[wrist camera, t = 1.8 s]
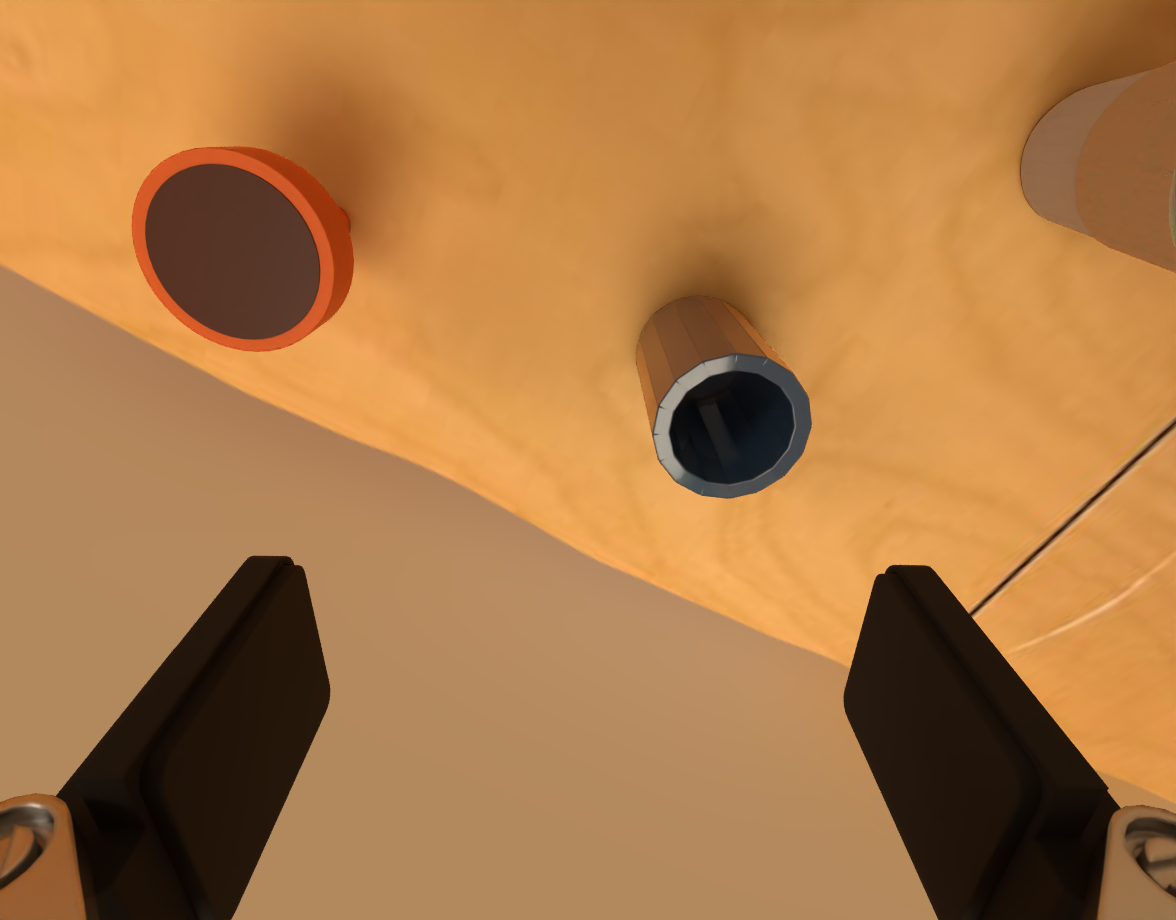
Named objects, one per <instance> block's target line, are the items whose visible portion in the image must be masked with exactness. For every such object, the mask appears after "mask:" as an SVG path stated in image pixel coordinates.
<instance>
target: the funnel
mask: <svg viewBox="0 0 1176 920" xmlns="http://www.w3.org/2000/svg"><path fill="white" fill-rule="evenodd" d="M349 233H350V222H349V219H348V217H347V215H346V213H345V212H344V211H343V210H342V209H341V208H340V207H338V206H337V205H336V204H335V202H334V201H333V199H332V198H331V197H330V195H329V194H328V193H327V191H326V190H325V189H324V188H323V187H322V186H321V185H320V184H319V182H318V181H317V180H316V179H315V178H314V177H312V176H311V175H310V174H309V173H308V172H306V171H305V170H304V169H303V168H301V167H299V166H298V165H296V164H295V163H293V162H292V161H290V160H288V159H286V158H284V157H282V156H280V155H278V154H275V153H272V152H269V151H266V150H262V149H258V148H253V147H240V146H239V147H207V148H195V149H191V150H186V151H182V152H180V153H178V154H175V155H173V156H171V157H169V158H167V159H166V160H164V161H163V162H161V163H160V164H159V165H158V166H157V167H155V168H154V169H153V170H152V171H151V173H150V174H149V175H148V176H147V178H146V179H145V180H144V182H143V184H142V186H141V188H140V190H139V191H138V194H137V197H136V200H135V203H134V208H133V214H132V236H133V244H134V248H135V252H136V256H137V259H138V262H139V265H140V267H141V270H142V272H143V274H144V276H145V278H146V280H147V282H148V284H149V285H150V287H151V288H152V290H153V291H154V293H155V295H156V296H157V297H158V298H159V300H160V301H161V302H162V303H163V305H164V306H165V307H166V308H167V309H168V310H169V311H170V312H171V313H172V314H173V315H174V316H175V317H176V318H177V319H178V320H180V321H181V322H182V323H183V324H184V325H186V326H187V327H188V328H190V329H191V330H193V331H194V332H196V333H197V334H199V335H201V336H203V337H204V338H206V339H208V340H210V341H213V342H215V343H217V344H220V345H223V346H226V347H229V348H233V349H238V350H243V351H255V352H260V351H272V350H277V349H281V348H284V347H287V346H290V345H292V344H294V343H296V342H298V341H300V340H302V339H303V338H304V337H306V336H307V335H309V334H310V333H311V332H313V331H314V330H316V329H317V328H318V327H320V326H321V325H323V324H324V323H325V322H327V321H328V320H329V319H330V318H331V317H332V316H333V315H334V314H335V313H336V312H337V311H338V310H339V308H340V307H341V305H342V304H343V302H344V300H345V298H346V296H347V294H348V292H349V289H350V286H351V282H352V276H353V266H354V258H353V248H352V243H351V238H350V234H349Z"/></svg>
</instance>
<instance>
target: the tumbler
mask: <svg viewBox="0 0 1176 920" xmlns="http://www.w3.org/2000/svg"><path fill="white" fill-rule="evenodd" d="M636 364H637V369H638V373H639V378H640V382H641V387H642V391H643V396H644V400H645V405H646V409H647V414H648V418H649V423H650V427H651V432H652V436H653V441H654V445H655V449H656V453H657V457H658V460H659V462H660V463H661V465H662V466H663V467H664V469H665V470H666V471H667V472H668V474H669V475H670V476H671V477H672V479H673V480H674V481H676V483H678V484H680V485H682V486H684V487H686V488H687V489H689V490H691V491H693V492H695V493H697V494H699V495H701V496H710V497H718V498H726V499H728V498H735V497H739V496H744V495H748V494H753V493H757V492H759V491H761V490H763V489H764V488H766V487H767V486H769V485H771V484H772V483H774V482H776V481H777V480H779V479H781V478H782V477H783V476H785V475H786V474H787V473H788V471H789V470H790V469H791V468H792V466H793V465H794V464H795V463H796V462H797V460H798V459H799V458H800V457H801V455H802V454H803V452H804V449H805V446H806V443H807V439H808V436H809V433H810V430H811V425H812V421H811V412H810V403H809V398H808V395H807V393H806V392H805V390H804V389H803V387H802V386H801V384H800V383H799V381H798V379H797V378H796V376H795V375H794V374H793V372H792V371H791V370H790V369H789V368H788V367H787V366H786V364H785V363H784V362H783V361H782V360H781V359H780V358H779V356H778V355H777V354H776V353H775V352H774V351H773V350H772V348H771V347H770V346H769V345H768V344H767V343H766V342H765V340H764V339H763V338H762V337H761V336H760V335H759V334H758V332H757V331H756V330H755V329H754V328H753V327H752V326H751V324H750V323H749V322H748V321H747V320H746V319H745V318H744V316H743V315H742V314H741V313H740V312H739V311H737V310H736V309H735V308H733V307H732V306H731V305H729V304H728V303H726V302H724V301H722V300H719V299H716V298H713V297H708V296H690V297H685V298H681V299H678V300H675V301H673V302H671V303H669V304H667V305H666V306H664V307H662V308H661V309H660V310H659V311H657V312H656V313H655V314H654V315H653V316H652V317H651V318H650V320H649V321H648V322H647V324H646V325H645V327H644V329H643V331H642V332H641V335H640V338H639V341H638V345H637V351H636Z"/></svg>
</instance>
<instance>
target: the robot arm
mask: <svg viewBox="0 0 1176 920" xmlns="http://www.w3.org/2000/svg"><path fill="white" fill-rule="evenodd" d="M329 700H330V684H329V679H328V675H327V670H326V666H325V661H324V656H323V652H322V647H321V643H320V638H319V634H318V629H317V625H316V620H315V616H314V611H313V607H312V602H311V598H310V593H309V588H308V584H307V579H306V575H305V571H304V569H303V567H302V566H299V565H294V563H293V561H292V559H291V558H290V557H287V556H251V557H249V558H248V559H247V560H246V561H245V562H244V563H243V565H242V566H241V567H240V568H239V569H238V571H237V572H236V573H235V574H234V576H233V577H232V578H231V579H230V581H229V582H228V583H227V584H226V586H225V587H224V588H223V589H222V591H221V592H220V593H219V594H218V596H217V597H216V598H215V599H214V601H213V602H212V603H211V604H210V605H209V607H208V608H207V609H206V611H205V612H204V613H203V614H202V615H201V617H200V618H199V619H198V620H197V622H196V623H195V624H194V625H193V627H192V628H191V629H190V630H189V632H188V633H187V634H186V636H185V637H184V638H183V639H182V640H181V642H180V643H179V644H178V645H177V647H176V648H175V649H174V650H173V651H172V652H171V654H170V655H169V656H168V657H167V658H166V660H165V661H164V662H163V663H162V665H161V666H160V667H159V668H158V670H157V671H156V672H155V673H154V675H153V676H152V677H151V678H150V680H149V681H148V682H147V683H146V685H145V686H144V687H143V688H142V689H141V691H140V692H139V693H138V694H137V696H136V697H135V698H134V699H133V701H132V702H131V703H130V704H129V706H128V707H127V708H126V709H125V711H124V712H123V713H122V714H121V716H120V717H119V718H118V719H117V721H116V722H115V723H114V724H113V726H112V727H111V728H110V729H109V731H108V732H107V733H106V734H105V736H104V737H103V738H102V739H101V740H100V742H99V743H98V744H97V745H96V747H95V748H94V749H93V750H92V752H91V753H90V754H89V755H88V757H87V758H86V759H85V761H84V762H83V763H82V764H81V765H80V767H79V768H78V769H77V770H76V772H75V773H74V774H73V775H72V777H71V778H70V779H69V780H68V781H67V783H66V784H65V785H64V786H63V788H62V789H61V790H60V791H59V793H58V794H57V795H56V796H53V795H45V794H30V795H24V796H18V797H13V798H10V799H7V800H5V801H2V802H0V920H231V919H232V917H233V915H234V913H235V911H236V909H237V907H238V905H239V903H240V900H241V898H242V896H243V894H244V892H245V889H246V887H247V885H248V883H249V880H250V878H251V876H252V874H253V872H254V869H255V867H256V865H257V863H258V860H259V858H260V856H261V854H262V852H263V850H264V847H265V845H266V843H267V841H268V839H269V836H270V834H271V831H272V830H273V827H274V825H275V823H276V821H277V818H278V816H279V814H280V812H281V810H282V808H283V805H284V803H285V801H286V799H287V796H288V794H289V792H290V790H291V788H292V786H293V783H294V781H295V779H296V777H297V774H298V772H299V769H300V768H301V766H302V763H303V761H304V759H305V757H306V754H307V752H308V750H309V748H310V746H311V743H312V741H313V739H314V737H315V735H316V732H317V730H318V728H319V726H320V724H321V721H322V719H323V717H324V715H325V713H326V710H327V708H328V704H329ZM844 708H845V712H846V715H847V717H848V720H849V722H850V724H851V727H852V729H853V731H854V733H855V735H856V738H857V740H858V742H859V744H860V746H861V749H862V751H863V753H864V755H865V758H866V760H867V762H868V764H869V767H870V769H871V771H872V773H873V776H874V778H875V780H876V782H877V784H878V787H879V789H880V791H881V793H882V795H883V798H884V800H885V802H886V804H887V807H888V809H889V811H890V813H891V816H892V818H893V820H894V822H895V824H896V827H897V829H898V831H899V833H900V836H901V838H902V840H903V842H904V844H905V846H906V849H907V851H908V853H909V856H910V858H911V860H912V862H913V864H914V866H915V869H916V871H917V873H918V875H919V878H920V880H921V882H922V884H923V887H924V889H925V891H926V893H927V896H928V898H929V900H930V902H931V904H932V906H933V909H934V911H935V913H936V916H937V918H938V920H1176V814H1175V813H1172V812H1170V811H1167V810H1165V809H1160V808H1155V807H1150V806H1145V805H1136V806H1125V807H1123V808H1122V809H1121V808H1120V807H1119V806H1118V804H1117V803H1116V802H1115V801H1114V799H1113V798H1112V797H1111V795H1110V794H1109V793H1108V792H1107V790H1108V787H1107V785H1106V784H1105V783H1104V782H1103V780H1102V779H1101V778H1100V777H1099V775H1098V774H1097V773H1096V772H1095V770H1094V769H1093V768H1092V767H1091V765H1090V764H1089V763H1088V762H1087V760H1086V759H1085V758H1084V757H1083V755H1082V754H1081V753H1080V752H1079V750H1078V749H1077V748H1076V747H1075V746H1074V744H1073V743H1072V742H1071V741H1070V739H1069V738H1068V737H1067V736H1066V734H1065V733H1064V732H1063V731H1062V729H1061V728H1060V727H1059V726H1058V724H1057V723H1056V722H1055V721H1054V719H1053V718H1052V717H1051V716H1050V714H1049V713H1048V712H1047V711H1046V709H1045V708H1044V707H1043V706H1042V704H1041V703H1040V702H1039V701H1038V699H1037V698H1036V697H1035V696H1034V694H1033V693H1032V692H1031V691H1030V689H1029V688H1028V687H1027V686H1026V684H1025V683H1024V682H1023V681H1022V679H1021V678H1020V677H1019V676H1018V674H1017V673H1016V672H1015V671H1014V669H1013V668H1012V667H1011V666H1010V664H1009V663H1008V662H1007V661H1006V659H1005V658H1004V657H1003V656H1002V654H1001V653H1000V652H999V651H998V650H997V648H996V647H995V646H994V645H993V643H992V642H991V641H990V640H989V638H988V637H987V636H986V635H985V633H984V632H983V631H982V630H981V628H980V627H979V626H978V625H977V623H976V622H975V621H974V620H973V618H972V617H971V616H970V615H969V613H968V612H967V611H966V610H965V608H964V607H963V606H962V605H961V603H960V602H959V601H958V600H957V598H956V597H955V596H954V595H953V593H952V592H951V591H950V590H949V588H948V587H947V586H946V585H945V583H944V582H943V581H942V580H941V578H940V577H939V576H938V575H937V573H936V572H935V571H934V570H933V569H932V568H931V567H929V566H926V565H892V566H889V567H888V569H887V570H886V572H885V574H879V575H878V576H877V577H876V579H875V581H874V585H873V588H872V592H871V596H870V599H869V603H868V607H867V610H866V614H865V617H864V621H863V625H862V628H861V632H860V636H859V639H858V643H857V647H856V650H855V654H854V658H853V661H852V665H851V669H850V672H849V676H848V680H847V684H846V687H845V691H844Z"/></svg>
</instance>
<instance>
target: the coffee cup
mask: <svg viewBox="0 0 1176 920" xmlns="http://www.w3.org/2000/svg"><path fill="white" fill-rule="evenodd" d="M1021 182H1022V188H1023V191H1024V195H1025V197H1026V199H1027V201H1028V203H1029V205H1030V206H1031V207H1032V209H1033V210H1034V211H1035V212H1036V213H1037V214H1038V215H1040V216H1042V217H1043V218H1045V219H1047V220H1049V221H1052V222H1054V223H1057V224H1060V225H1062V226H1065V227H1068V228H1070V229H1073V230H1076V231H1078V232H1081V233H1084V234H1086V235H1089V236H1091V237H1094V238H1095V239H1096V240H1097V241H1099V242H1101V243H1103V244H1104V245H1106V246H1108V247H1109V248H1112V249H1114V250H1117V251H1120V252H1122V253H1125V254H1128V255H1130V256H1133V257H1136V258H1138V259H1141V260H1144V261H1146V262H1149V263H1151V264H1154V265H1157V266H1159V267H1162V268H1165V269H1167V270H1170V271H1173V272H1175V273H1176V60H1175V61H1173V62H1170V63H1168V64H1166V65H1163V66H1161V67H1159V68H1157V69H1153V70H1149V71H1146V72H1142V73H1138V74H1134V75H1130V76H1126V77H1122V78H1119V79H1115V80H1111V81H1107V82H1103V83H1099V84H1096V85H1092V86H1089V87H1087V88H1084V89H1082V90H1080V91H1077V92H1075V93H1074V94H1072V95H1070V96H1068V97H1067V98H1065V99H1063V100H1062V101H1061V102H1059V103H1058V104H1057V105H1056V106H1054V107H1053V108H1052V109H1050V110H1049V111H1048V113H1047V114H1046V115H1045V116H1044V117H1043V118H1042V119H1041V120H1040V121H1039V122H1038V124H1037V125H1036V127H1035V128H1034V130H1033V131H1032V132H1031V134H1030V136H1029V139H1028V141H1027V143H1026V145H1025V148H1024V152H1023V156H1022V161H1021Z"/></svg>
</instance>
